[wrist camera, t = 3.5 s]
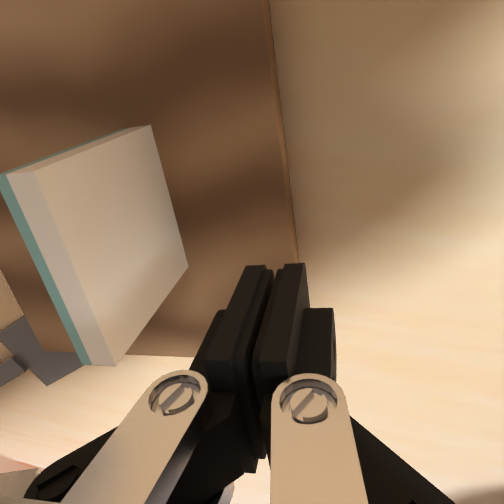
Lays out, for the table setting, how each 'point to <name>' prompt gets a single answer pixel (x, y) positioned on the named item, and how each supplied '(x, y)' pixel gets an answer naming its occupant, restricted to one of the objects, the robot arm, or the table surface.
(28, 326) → the turner
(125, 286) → the tile
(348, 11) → the table surface
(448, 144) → the table surface
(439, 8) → the table surface
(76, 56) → the board
